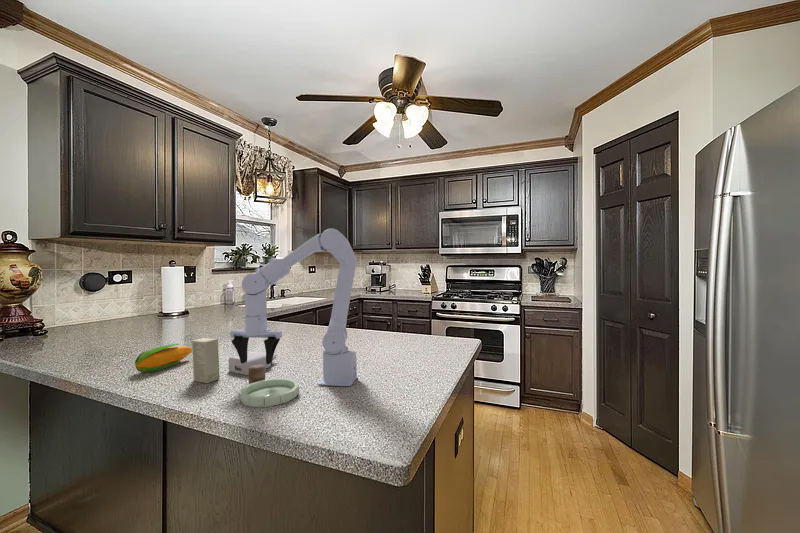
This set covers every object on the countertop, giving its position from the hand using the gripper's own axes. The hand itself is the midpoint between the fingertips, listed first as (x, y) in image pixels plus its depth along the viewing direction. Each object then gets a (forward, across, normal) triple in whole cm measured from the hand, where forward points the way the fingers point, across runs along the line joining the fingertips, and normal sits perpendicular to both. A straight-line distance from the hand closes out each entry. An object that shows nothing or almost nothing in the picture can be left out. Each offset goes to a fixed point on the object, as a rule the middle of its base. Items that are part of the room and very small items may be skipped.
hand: (256, 362), depth 99 cm
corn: (+7, +39, -13) cm, 42 cm away
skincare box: (+6, +17, -2) cm, 18 cm away
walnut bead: (+6, 0, 0) cm, 6 cm away
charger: (+7, +8, -16) cm, 19 cm away
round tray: (+6, -8, +8) cm, 13 cm away
